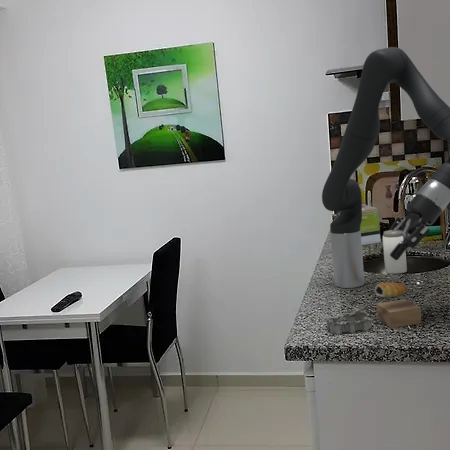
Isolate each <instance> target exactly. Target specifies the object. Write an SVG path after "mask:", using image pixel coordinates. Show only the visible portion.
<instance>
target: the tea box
mask: <svg viewBox="0 0 450 450" xmlns="http://www.w3.org/2000/svg"><path fill="white" fill-rule="evenodd" d="M380 226H381V225H380V213H379V208H378V207H375V206H371V205H367V204H365V203H362V222H361V225H360V229H361V242H362V246H366V245H372V244H378V243H381V242H382V241H381V227H380Z"/></svg>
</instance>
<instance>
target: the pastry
mask: <svg viewBox="0 0 450 450" xmlns="http://www.w3.org/2000/svg"><path fill="white" fill-rule="evenodd" d="M373 292H374V294H375V296H377V297H381V298H384V299H391V298H393V297H395V298H397V297H400V296H404V295H405V294H407V293H408V292H409V290H408V287H407V285H405V284H403V283H402V282H401V283H400V282H399V283H397V282H390V281H387V282H383V283H382V282H381V283H377V284H376V285H375V287H374V289H373Z"/></svg>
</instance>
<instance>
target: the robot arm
mask: <svg viewBox="0 0 450 450" xmlns="http://www.w3.org/2000/svg"><path fill="white" fill-rule="evenodd" d="M362 66H363V67H362V70H361V75H360V80H359V85H358V89H357V94H356V96H355V100H354V103H353V106H352V110H351V113H350V115H349V119H348V121H347V124H346V128H345V131H344V133H343V136H342V140H341V143H340V146H339V149H338V152H337V154H336V158H335V160H334V163H333V166H332V168H331V170H330V172H329V174H328V176H327V179H326V180H325V183H324V186H323V189H322V193H321V201H322V204H323V206H324V208H325V210H327V211H330V212H338V211H340V213H339V215H338V216H337V217H336V218H335V219H334V220H333V221H332V222H330V225H329V230H330V241H331V242H330V243H331V253H332V266H333V268H332V269H333V280H334V281H333V282H334V286H335V287H337V288H341V289H352V288H353V289H354V288H359V287H362V286H364V285H365V275H364V274H365V273H364V272H365V271H364V259H363V245H362V242H361V229H360V225H361V222H362V204H363V197H362V190H361V186H360V184H359V183H358V181H356V179H352V176H353V174H354V173H355V172H356V171H357V169H358V168H359V167H360V166H361V165H362V164H363V163H364V161H366V160H367V159H368V157H369V156H370V155H371V154H372V152H373V150H374V148H375V146H376V145H375V144H376V141H377V139H378V138H379V137H378V136H379V134H380V130H381V119H380V113H379V112H380V111H379V108H380V103H381V100H382V97H383V95H384V92H385V89H386V88H387V86H388V84H393V83H394V84H396V85H397V86H398V87H400V88H401V89H402V90H403V91H404V92H405V93H406V94H407V96H408V97H409V98H410V100H411V102H412V105H413V107H414V109H415V111H416V113H417V116H418V117H419V119H420V120H421V122H422V123H423V124H424V125H425V126H426V127H427V128H428V130H430V131H431V132H432V133H433V134H434V135H435V136H436V137H437V138H438V139H440V140H444V141H445V140H446V142H447V143H449V144H450V106H449V105H448V104H447V103H446V102H445V101H444V100H443V99H442V98H441V97H440V95H438V94H437V92H435V90H434V89H433V87H431V86H430V84H429V83H428V82H427V80H426V79H425V78H424V76H423V75H422V74H421V72H420V71H419V70H418V68H417V67H416V65H415V64H414V62H413V61H412V60H411V58H410V57H409V55H408V54H407V53H406V52H405V51H404V50H402V48H400V47H397V46H391V47H385V48H380V49H375V50H374V51H372V52H371V53H369V54H368V55H367V57H366V59H365V61H364V63H363V65H362ZM449 203H450V156H449V157H448V159H447V160H446V161H445V163H442V164H441V165H439V166H438V168H436V170H435V171H434V172H433V174H432V175H431V176H430V177H429V179H428V180H427V181H426V182H425V183H424V184H423V185H422V186H421V187H420V189H419V190H418V192H417V193H416V194H415V195H414V197H413V198H412V199H411V200H410V201H409V203H408V204H407V206H406V211H408V213H407V214H406V216H404V217H403V218H400V217H396V219H395V220H394V222H393V223H392V224H391V226H390V227H389V229H388V230H402V231H403V233H402V235H403V237H402V239H401V241H400V243H401V244H400V243H398V245H397V246H396V247H395V248H394V250H393V251H392V252H391V253H390V256H391V257H392V258H393V259H395V260H398V259H399V258H400V256H401V255H402V254H403V252H404V251H406V250H409V249H410V248H411V249H414V248H415V247H416V246H417V245H418V244H419V243H420V242H421V241H422V240H424V238H425V237H426V236H427V235H428V234H429V233H430V231H431V230H430V228H428V227H427V226H432V225H433V224H435V222H436V220H437V219H438V218H439V217H440V216H441V214H442V213H443V212H444V210H445V209H446V208H447V206H448V205H449ZM426 225H427V226H426ZM379 252H380V253H381V254H383V255H384V249H383V246H382V247H381V248H380V249H379Z"/></svg>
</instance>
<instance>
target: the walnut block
mask: <svg viewBox="0 0 450 450" xmlns="http://www.w3.org/2000/svg"><path fill="white" fill-rule="evenodd" d="M376 317H377V320H379V321H380V322H382V323H383V324H384V325H385V326H388V327H389V328H390V329H395V328H400V327H406V326H412V325H418V324H422V309H421V307H420V306H419V305H417V304H415V303H414V302H412V301H409V300H407V299H405V298H404V299H397V300H392V301H385V302H378V303H376Z"/></svg>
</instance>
